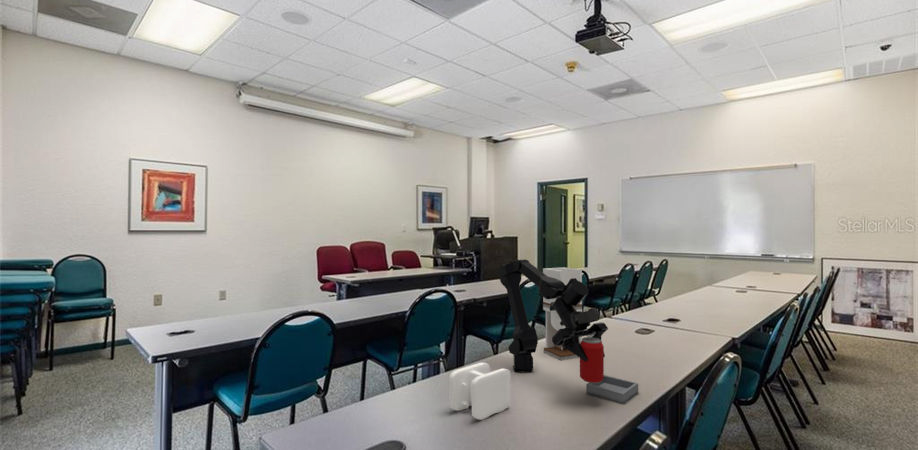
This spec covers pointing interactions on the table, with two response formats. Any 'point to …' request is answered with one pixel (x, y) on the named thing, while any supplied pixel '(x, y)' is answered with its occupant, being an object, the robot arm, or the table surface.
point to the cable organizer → (479, 390)
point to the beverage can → (592, 360)
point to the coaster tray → (613, 389)
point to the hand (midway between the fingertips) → (595, 359)
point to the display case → (553, 317)
